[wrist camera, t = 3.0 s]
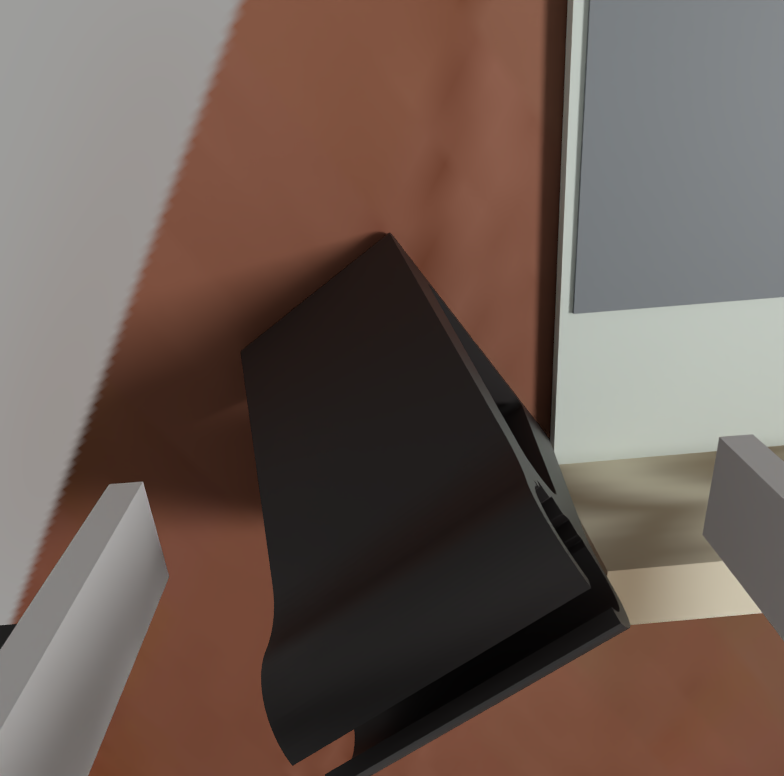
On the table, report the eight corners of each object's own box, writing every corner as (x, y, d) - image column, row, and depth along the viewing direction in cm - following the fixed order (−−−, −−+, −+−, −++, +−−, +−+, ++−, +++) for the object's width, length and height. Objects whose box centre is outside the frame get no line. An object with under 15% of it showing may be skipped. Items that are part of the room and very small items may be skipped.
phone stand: (241, 346, 20) (109, 628, 9) (390, 229, 19) (437, 397, 8) (409, 525, 23) (456, 892, 13) (546, 435, 22) (731, 755, 11)
